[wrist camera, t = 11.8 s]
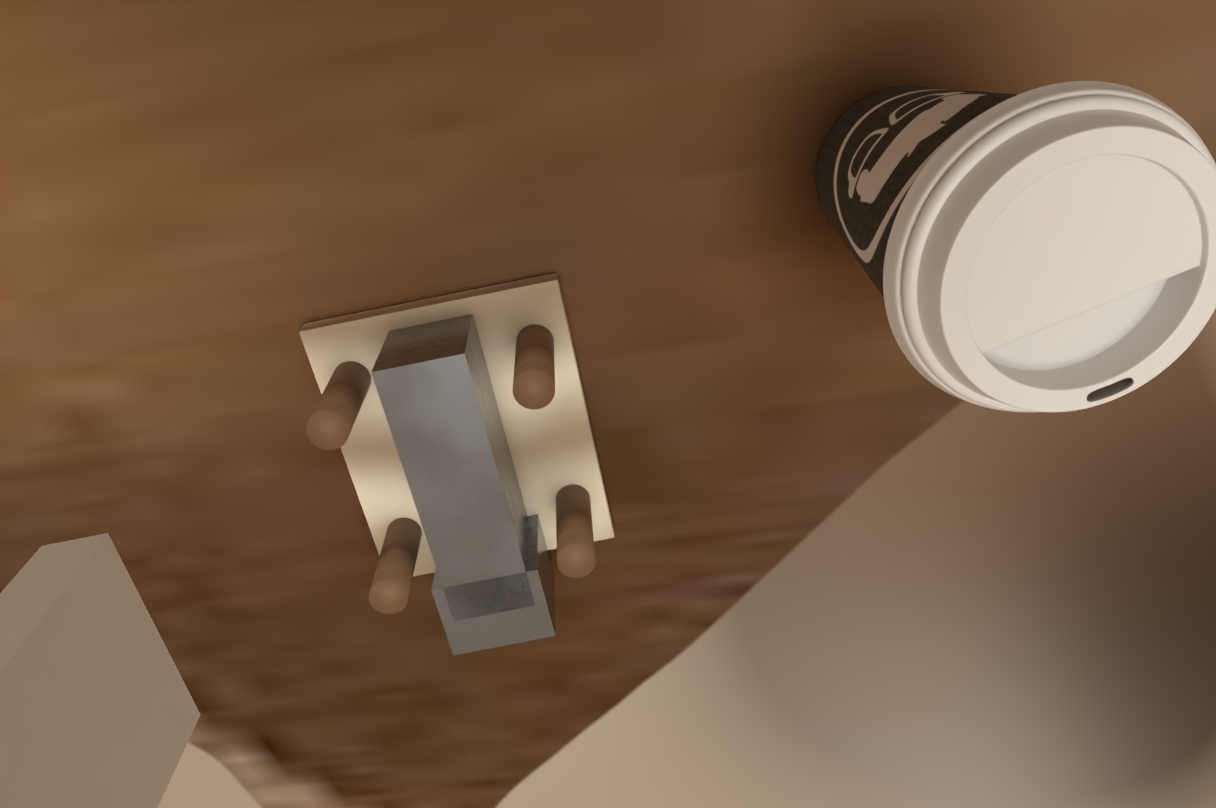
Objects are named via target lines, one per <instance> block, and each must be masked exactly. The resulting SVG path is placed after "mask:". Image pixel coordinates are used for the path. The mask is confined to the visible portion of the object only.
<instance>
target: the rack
mask: <svg viewBox="0 0 1216 808" xmlns="http://www.w3.org/2000/svg"><path fill="white" fill-rule="evenodd" d="M469 314H473V316H474V320H475V324H476V328H477V331H478V335H479V339H480V342H481V346H482V350H483V353H484V357H485V361H486V364H487V368H488V372H489V376H490V379H491V383H492V387H493V390H494V394H495V398H496V401H497V405H498V409H499V412H500V416H501V420H502V423H503V427H504V431H505V435H506V438H507V442H508V446H509V449H510V453H511V457H512V460H513V464H514V468H515V471H516V475H517V479H518V483H519V486H520V490H521V494H522V497H523V501H524V505H525V508H526V512H527V516H531V515H536V514H538V516H539V519H540V523H541V527H542V531H543V535H544V538H545V542H546V546H547V550H552V549H557V566H558V569H559V570H560V572H561V573H563V574H564V575H566V576H568V577H571V578H580V577H584V576H586V575H588V574H589V573H590V572H591V571H592V570H593V569H594V567H595V563H596V560H595V549H594V541H598V540H603V539H608V538H614V530H613V524H612V519H611V515H610V510H609V506H608V501H607V497H606V492H605V488H604V483H603V478H602V474H601V469H600V465H599V460H598V456H597V451H596V447H595V442H594V438H593V433H592V429H591V424H590V420H589V415H588V411H587V406H586V401H585V397H584V392H583V388H582V383H581V379H580V374H579V370H578V365H577V361H576V356H575V352H574V347H573V343H572V338H571V334H570V329H569V324H568V320H567V315H566V311H565V306H564V302H563V297H562V293H561V288H560V284H559V279H558V275H557V273H553V274H548V275H543V276H538V277H533V278H528V279H523V280H518V281H513V282H508V283H503V284H498V285H493V286H488V287H483V288H478V289H473V290H468V291H463V292H458V293H453V294H448V295H443V296H438V297H433V298H428V299H423V300H418V301H413V302H408V303H403V304H399V305H394V306H389V307H384V308H379V309H374V310H369V311H364V312H359V313H354V314H349V315H344V316H339V317H334V318H329V319H324V320H319V321H314V322H309V323H305V324H304V325H303V326H302V328H301V329H300V331H299V333H300V336H301V339H302V342H303V344H304V347H305V350H306V353H307V356H308V358H309V361H310V364H311V367H312V369H313V372H314V375H315V378H316V381H317V383H318V386H319V389H320V392H321V394H322V395H321V397H320V399H319V401H318V403H317V405H316V407H315V409H314V411H313V413H312V414H311V416H310V418H309V420H308V422H307V424H306V435H307V437H308V439H309V440H310V442H311V443H312V444H314V445H315V446H316V447H318V448H321V449H324V450H334V449H338V448H340V447H341V450H342V453H343V456H344V458H345V461H346V464H347V467H348V469H349V472H350V475H351V478H352V481H353V483H354V486H355V489H356V492H357V494H358V497H359V500H360V503H361V506H362V508H363V511H364V514H365V517H366V519H367V522H368V525H369V528H370V531H371V533H372V536H373V539H374V542H375V544H376V547H377V550H378V553H379V556H380V557H379V561H378V564H377V568H376V571H375V575H374V578H373V582H372V585H371V589H370V593H369V602H370V604H371V606H372V607H373V608H374V609H375V610H377V611H378V612H381V613H384V614H394V613H397V612H399V611H401V610H403V609H404V607H405V606H406V604H407V601H408V596H409V592H410V587H411V583H412V578H413V576H418V575H423V574H428V573H433V572H435V568H436V566H435V563H434V560H433V557H432V554H431V551H430V548H429V545H428V542H427V539H426V536H425V533H424V530H423V527H422V524H421V521H420V518H419V515H418V512H417V509H416V506H415V503H414V500H413V497H412V494H411V491H410V488H409V485H408V482H407V479H406V476H405V473H404V470H403V467H402V464H401V461H400V458H399V455H398V452H397V449H396V446H395V443H394V440H393V437H392V434H391V431H390V428H389V425H388V422H387V419H386V416H385V413H384V410H383V407H382V404H381V401H380V398H379V395H378V392H377V389H376V386H375V383H374V380H373V377H372V374H371V371H372V369H373V367H374V364H375V362H376V360H377V357H378V355H379V353H380V350H381V348H382V346H383V343H384V341H385V339H386V337H387V334H388V332H389V331H391V330H395V329H400V328H405V327H410V326H415V325H420V324H425V323H430V322H435V321H440V320H445V319H450V318H455V317H460V316H464V315H469Z"/></svg>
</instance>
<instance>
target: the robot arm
mask: <svg viewBox="0 0 1216 808" xmlns="http://www.w3.org/2000/svg"><path fill="white" fill-rule="evenodd" d="M199 717H200V713H199V711H198V709H197V707H196V705H195V703H194V701H193V699H192V697H191V695H190V693H189V691H188V689H187V687H186V685H185V683H184V682H183V680H182V678H181V676H180V674H179V672H178V670H177V668H176V666H175V664H174V662H173V660H172V658H171V656H170V654H169V652H168V650H167V648H166V646H165V644H164V642H163V640H162V638H161V636H160V635H159V633H158V631H157V629H156V627H155V625H154V623H153V621H152V619H151V617H150V615H149V613H148V611H147V609H146V607H145V605H144V603H143V601H142V599H141V597H140V595H139V593H138V591H137V590H136V588H135V586H134V584H133V582H132V580H131V578H130V576H129V574H128V572H127V570H126V568H125V566H124V564H123V562H122V560H121V558H120V556H119V554H118V552H117V550H116V548H115V546H114V544H113V543H112V541H111V539H110V537H109V535H108V533H106V534H101V535H96V536H91V537H85V538H80V539H75V540H70V541H65V542H60V543H55V544H50V545H45V546H41V547H40V548H39V550H38V551H37V552H36V553H35V554H34V555H33V557H32V558H31V559H30V560H29V561H28V562H27V563H26V565H25V566H24V567H23V568H22V569H21V570H20V571H19V573H18V574H17V575H16V576H15V577H14V578H13V579H12V581H11V582H10V583H9V584H8V585H7V586H6V587H5V589H4V590H3V591H2V592H1V593H0V808H157V807H158V805H159V803H160V801H161V799H162V797H163V794H164V792H165V790H166V788H167V786H168V784H169V781H170V779H171V777H172V775H173V773H174V770H175V768H176V766H177V764H178V762H179V760H180V758H181V755H182V753H183V751H184V749H185V747H186V745H187V743H188V740H189V738H190V736H191V734H192V732H193V730H194V727H195V725H196V723H197V721H198V719H199Z"/></svg>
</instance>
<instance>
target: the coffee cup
mask: <svg viewBox="0 0 1216 808" xmlns="http://www.w3.org/2000/svg"><path fill="white" fill-rule="evenodd" d="M816 188H817V194H818V198H819V201H820V204H821V207H822V209H823V211H824V213H825V215H826V216H827V218H828V219H829V221H830V222H831V224H832V225H833V226H834V228H835V229H836V231H837V232H838V233H839V235H840V236H841V238H842V239H843V240H844V242H845V243H846V245H847V246H848V247H849V249H850V250H851V252H852V253H853V254H854V256H855V257H856V259H857V260H858V261H859V263H860V264H861V266H862V267H863V268H864V270H865V271H866V273H867V274H868V276H869V277H870V278H871V280H872V281H873V283H874V284H875V285H876V287H877V288H878V290H879V291H880V293H881V294H882V295H883V297H884V302H885V308H886V313H887V317H888V321H889V324H890V327H891V330H892V332H893V335H894V337H895V339H896V341H897V343H898V345H899V347H900V348H901V350H902V352H903V353H904V355H905V356H906V358H907V359H908V360H909V362H910V363H911V364H912V365H913V366H914V367H915V369H916V370H917V371H918V372H919V373H920V374H921V375H922V376H924V377H925V378H926V379H927V380H928V381H930V382H931V383H932V384H934V385H935V386H937V387H938V388H940V389H941V390H943V391H945V392H947V393H949V394H951V395H953V396H955V397H957V398H960V399H962V400H965V401H968V402H970V403H973V404H976V405H980V406H983V407H987V408H992V409H997V410H1005V411H1014V412H1065V411H1074V410H1080V409H1085V408H1089V407H1093V406H1097V405H1100V404H1103V403H1106V402H1109V401H1111V400H1114V399H1116V398H1119V397H1121V396H1123V395H1125V394H1127V393H1129V392H1131V391H1133V390H1135V389H1137V388H1138V387H1140V386H1142V385H1143V384H1145V383H1146V382H1148V381H1149V380H1151V379H1152V378H1154V377H1155V376H1157V375H1158V374H1159V373H1161V372H1162V371H1163V370H1164V369H1165V368H1167V367H1168V366H1169V365H1170V364H1171V363H1172V362H1173V361H1175V360H1176V359H1177V358H1178V357H1179V356H1180V355H1181V354H1182V353H1183V352H1184V351H1185V350H1186V349H1187V348H1188V347H1189V345H1190V344H1191V343H1192V342H1193V341H1194V339H1195V338H1196V337H1197V336H1198V334H1199V333H1200V332H1201V330H1202V329H1203V328H1204V326H1205V325H1206V323H1207V321H1208V320H1209V318H1210V317H1211V315H1212V313H1213V312H1214V310H1215V308H1216V164H1215V162H1214V160H1213V158H1212V156H1211V154H1210V152H1209V151H1208V149H1207V147H1206V146H1205V144H1204V143H1203V141H1202V140H1201V138H1200V137H1199V135H1198V134H1197V133H1196V132H1195V131H1194V129H1193V128H1192V127H1191V126H1190V125H1189V124H1188V123H1187V122H1186V121H1185V120H1184V119H1183V118H1181V117H1180V116H1179V115H1178V114H1177V113H1175V112H1174V111H1173V110H1172V109H1171V108H1169V107H1168V106H1167V105H1165V104H1164V103H1162V102H1161V101H1159V100H1158V99H1156V98H1154V97H1152V96H1150V95H1148V94H1146V93H1144V92H1142V91H1139V90H1137V89H1134V88H1131V87H1128V86H1124V85H1120V84H1115V83H1109V82H1101V81H1072V82H1063V83H1057V84H1052V85H1047V86H1043V87H1039V88H1036V89H1033V90H1030V91H1027V92H1024V93H1021V94H1019V95H1017V94H1002V93H988V92H973V91H959V90H946V89H932V88H918V87H895V88H889V89H885V90H881V91H878V92H876V93H873V94H871V95H869V96H867V97H865V98H863V99H862V100H860V101H858V102H857V103H855V104H854V105H853V106H852V107H850V108H849V109H848V110H847V111H846V112H845V113H844V114H843V115H842V116H841V117H840V118H839V119H838V120H837V122H836V123H835V124H834V125H833V127H832V128H831V130H830V131H829V133H828V135H827V137H826V139H825V141H824V143H823V145H822V148H821V151H820V154H819V157H818V162H817V168H816Z"/></svg>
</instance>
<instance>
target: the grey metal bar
mask: <svg viewBox="0 0 1216 808" xmlns="http://www.w3.org/2000/svg"><path fill="white" fill-rule="evenodd" d="M371 374H372V377H373V380H374V383H375V386H376V389H377V392H378V395H379V398H380V401H381V404H382V407H383V410H384V413H385V416H386V419H387V422H388V425H389V428H390V431H391V434H392V437H393V440H394V443H395V446H396V449H397V452H398V455H399V458H400V461H401V464H402V467H403V470H404V473H405V476H406V479H407V482H408V485H409V488H410V491H411V494H412V497H413V500H414V503H415V506H416V509H417V512H418V515H419V518H420V521H421V524H422V527H423V530H424V533H425V536H426V539H427V542H428V545H429V548H430V551H431V554H432V557H433V560H434V563H435V566H436V568H435V573H434V579H433V584H432V590H431V591H432V594H433V597H434V600H435V603H436V606H437V609H438V612H439V614H440V617H441V620H442V623H443V626H444V629H445V632H446V635H447V638H448V641H449V644H450V647H451V650H452V653H453V655H458V654H463V653H468V652H473V651H479V650H484V649H489V648H494V647H499V646H504V645H510V644H515V643H520V642H525V641H530V640H535V639H540V638H546V637H551V636H555V579H554V572H553V569H552V565H551V561H550V557H549V553H548V550H547V546H546V542H545V538H544V535H543V531H542V527H541V523H540V519H539V516H538V514H536V515H531V516H527V512H526V508H525V505H524V501H523V497H522V494H521V490H520V486H519V483H518V479H517V475H516V471H515V468H514V464H513V460H512V457H511V453H510V449H509V446H508V442H507V438H506V435H505V431H504V427H503V423H502V420H501V416H500V412H499V409H498V405H497V401H496V398H495V394H494V390H493V387H492V383H491V379H490V376H489V372H488V368H487V364H486V361H485V357H484V353H483V350H482V346H481V342H480V339H479V335H478V331H477V328H476V324H475V320H474V316H473V314H469V315H464V316H460V317H455V318H450V319H445V320H440V321H435V322H430V323H425V324H420V325H415V326H410V327H405V328H400V329H395V330H391V331H389V332H388V334H387V337H386V339H385V341H384V343H383V346H382V348H381V350H380V353H379V355H378V357H377V360H376V362H375V364H374V367H373V369H372V371H371Z"/></svg>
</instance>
